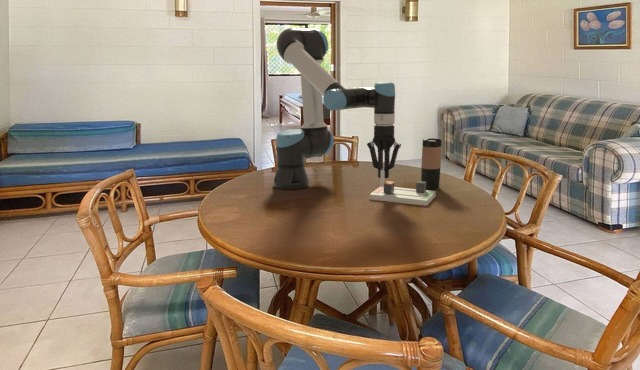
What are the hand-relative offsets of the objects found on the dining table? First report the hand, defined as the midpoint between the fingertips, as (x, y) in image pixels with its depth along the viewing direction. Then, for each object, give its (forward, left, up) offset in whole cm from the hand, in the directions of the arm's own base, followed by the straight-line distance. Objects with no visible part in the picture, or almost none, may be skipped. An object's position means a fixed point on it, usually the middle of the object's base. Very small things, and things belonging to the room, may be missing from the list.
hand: (383, 186), depth 186 cm
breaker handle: (+2, 0, -2) cm, 3 cm away
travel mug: (+13, +22, -5) cm, 26 cm away
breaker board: (+7, +3, -5) cm, 9 cm away
